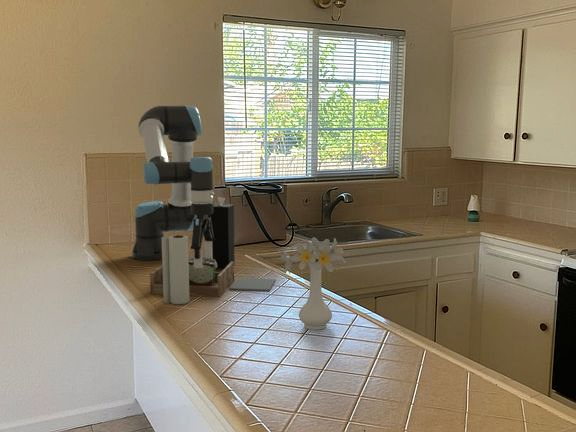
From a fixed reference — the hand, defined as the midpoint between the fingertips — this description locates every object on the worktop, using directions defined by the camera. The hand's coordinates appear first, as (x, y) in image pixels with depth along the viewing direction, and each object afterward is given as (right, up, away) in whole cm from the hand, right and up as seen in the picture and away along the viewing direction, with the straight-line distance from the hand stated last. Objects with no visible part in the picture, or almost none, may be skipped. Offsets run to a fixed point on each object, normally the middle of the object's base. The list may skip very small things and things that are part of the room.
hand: (203, 263), depth 210 cm
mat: (+17, -8, +4) cm, 19 cm away
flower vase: (+36, -15, -40) cm, 56 cm away
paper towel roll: (-6, -11, -16) cm, 20 cm away
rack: (-4, -8, +2) cm, 9 cm away
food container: (0, -9, +2) cm, 9 cm away
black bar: (+3, -4, +31) cm, 32 cm away
